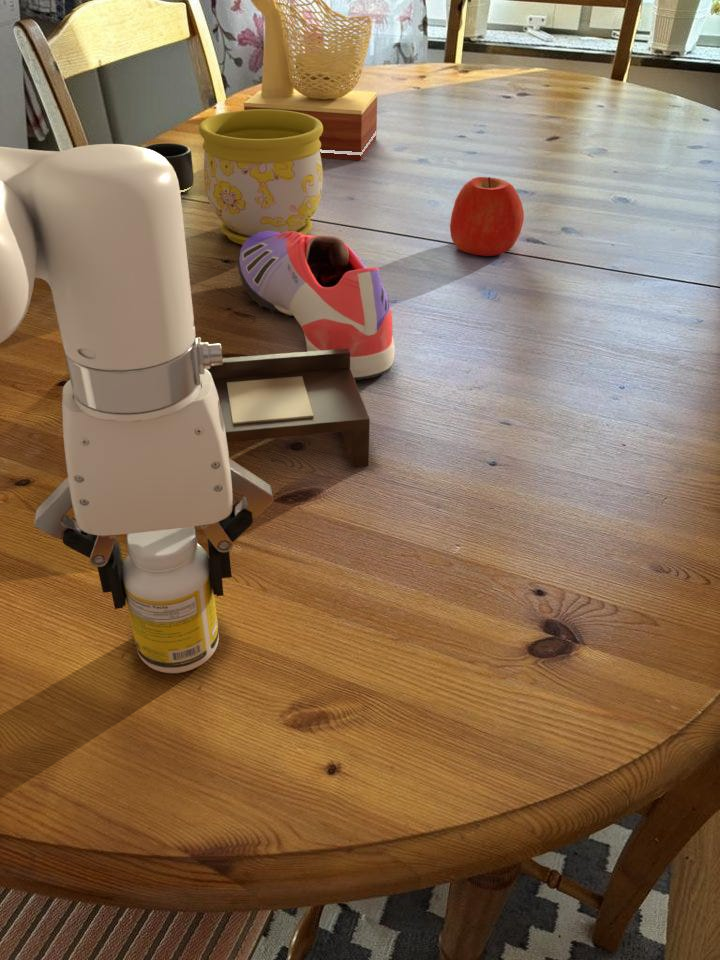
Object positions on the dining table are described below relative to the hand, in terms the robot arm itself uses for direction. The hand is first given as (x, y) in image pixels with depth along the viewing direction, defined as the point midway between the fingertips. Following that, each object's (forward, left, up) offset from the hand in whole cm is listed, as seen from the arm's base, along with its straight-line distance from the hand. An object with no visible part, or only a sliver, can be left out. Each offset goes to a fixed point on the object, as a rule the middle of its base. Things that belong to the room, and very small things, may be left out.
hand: (169, 587), depth 62 cm
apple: (+48, +74, -6) cm, 88 cm away
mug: (+1, +106, -6) cm, 106 cm away
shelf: (+10, +26, -6) cm, 28 cm away
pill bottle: (0, 0, -6) cm, 6 cm away
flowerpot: (+16, +85, -6) cm, 87 cm away
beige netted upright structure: (+30, +134, -6) cm, 137 cm away
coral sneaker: (+18, +53, -6) cm, 56 cm away
